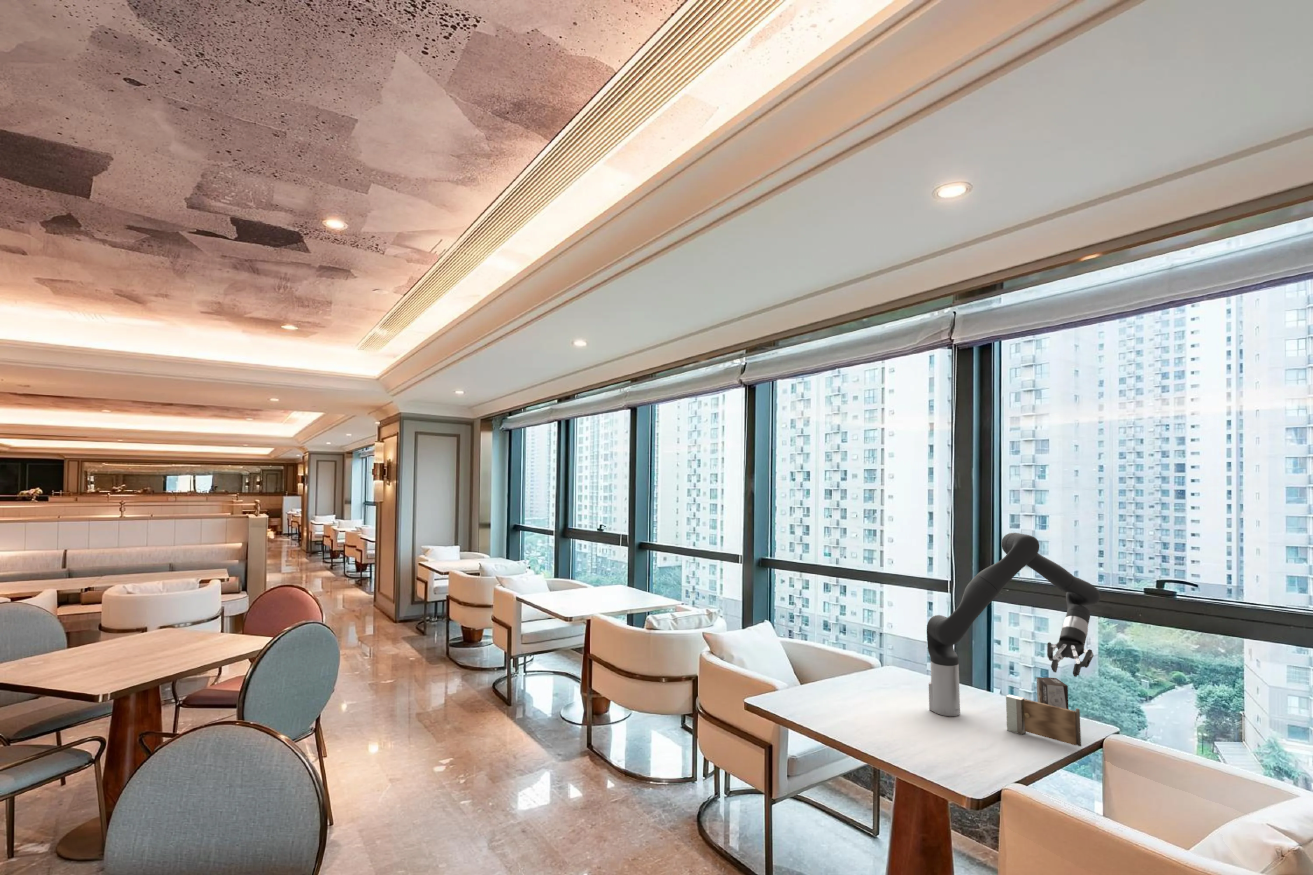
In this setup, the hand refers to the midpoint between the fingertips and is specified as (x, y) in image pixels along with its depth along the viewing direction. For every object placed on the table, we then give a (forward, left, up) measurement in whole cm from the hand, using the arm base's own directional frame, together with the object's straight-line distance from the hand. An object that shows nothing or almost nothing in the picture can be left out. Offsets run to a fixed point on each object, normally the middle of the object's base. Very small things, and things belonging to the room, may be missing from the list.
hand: (1064, 672), depth 217 cm
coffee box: (0, -12, -17) cm, 21 cm away
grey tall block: (-8, -22, -16) cm, 29 cm away
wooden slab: (+3, -23, -15) cm, 28 cm away
